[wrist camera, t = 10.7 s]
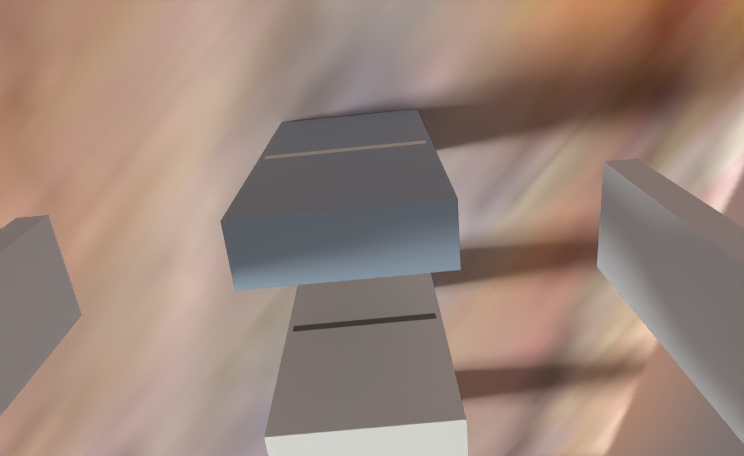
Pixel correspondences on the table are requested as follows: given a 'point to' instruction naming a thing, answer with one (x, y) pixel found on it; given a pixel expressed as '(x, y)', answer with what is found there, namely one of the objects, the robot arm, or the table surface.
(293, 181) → the blue domino
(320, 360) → the domino
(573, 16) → the table surface
